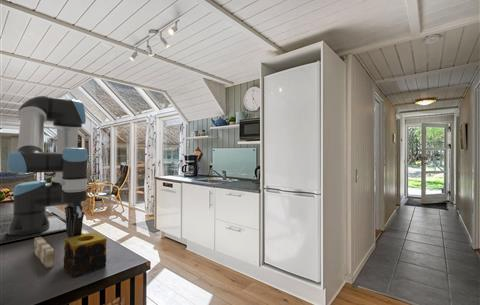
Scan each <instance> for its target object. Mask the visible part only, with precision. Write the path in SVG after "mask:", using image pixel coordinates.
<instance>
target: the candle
mask: <svg viewBox="0 0 480 305" xmlns="http://www.w3.org/2000/svg"><path fill="white" fill-rule="evenodd" d="M107 240H108V238H107V237H106V236H104V235H102V234H101V233H99V232H97V231H93V232H89V234H83V235H79V236H75V237H70V238H68V237H67V238H66V237H65V238H64V246H63V247H64V248H63V250H64V255H63V267H62V268H63V269H64V271H65V272H66V273H67V275H70V276H69V277H70V278H71V279H74V278H77V277H79V276H83V275H86V274H89V273H92V272H96V271H97V270H100V269H103V268H106V266H107Z"/></svg>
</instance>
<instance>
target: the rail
mask: <svg viewBox="0 0 480 305" xmlns="http://www.w3.org/2000/svg"><path fill="white" fill-rule="evenodd" d="M33 246H34V248H33V253H34V254H35V255H36V257H37V258H38V260H40V262H41V263H42V265H43V266H44V267H45V269H49V268H52V267H54V265H55V249H54V248H53V247H52V246H51V245H50V244H49V243H48V242H47V241H46V240H45V239H44V238H43V237H42V236H38V237H34V243H33Z"/></svg>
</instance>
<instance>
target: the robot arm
mask: <svg viewBox="0 0 480 305" xmlns="http://www.w3.org/2000/svg"><path fill="white" fill-rule="evenodd" d="M17 116H18V119H19V121H20V122H19V129H18V130H19V131H18V132H19V133H18V139H17V140H18V141H17V148H16V150H15V151H10V152H9V153H8V154H7V164H6V165H7V171H8V172H9V173H11V174H31V173H32V174H35V173H36V174H38V173H40V174H41V173H55V176H54V177H53V178H52V179H51V182H47V181H46V180H45V179H44V180H33V181H27V182H21V183H18V184H16V185H15V186H14V188H13V194H12V196H13V210H12V211H13V212H12V213H13V214H12V218H11V220H10V223H9V225H8V228H7V234H8V235H9V236H25V235H33V234H37V233H40V232H44V231H46V230H48V229H50V226H51V225H50V224H51V223H50V221H49V218H48V215H47V212H46V208H47V207H58V206H64V212H65V228H66V231H65V232H66V235H67V238H70V237H75V236H79V235H81V232H82V228H83V221H84V217H85V211H83V206H82V202H85V201H86V200H87V198H88V196H87V195H88V194H87V193H88V191H87V189H88V159H89V156H88V150H87V148H85V147H78V141H79V140H78V139H79V131H80V130H81V129H82V128H83V125H85V124H86V118H87V117H86V110H85V105H84V103H83V101H80V100H78V99H72V98H64V97H56V96H48V95H39V96H35V97H32V98H30V99H28V100H26V101H24V102H23V103H22V105H20V107H19V109H18V112H17ZM45 122H53V123H52V126H53V127H55V129H56V148H55V149H56V150H55V151H56V152H51V151H49V152H46V151H44V135H45V134H44V133H45V131H44V130H45V129H44V128H45V126H44V124H45ZM65 206H66V207H65Z"/></svg>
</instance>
